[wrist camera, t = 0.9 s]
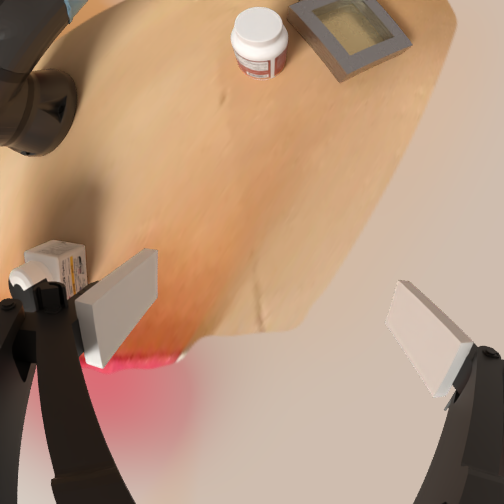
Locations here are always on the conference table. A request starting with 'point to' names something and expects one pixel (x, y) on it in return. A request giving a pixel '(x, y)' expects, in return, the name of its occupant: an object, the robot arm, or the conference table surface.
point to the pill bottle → (260, 43)
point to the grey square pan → (348, 34)
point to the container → (49, 270)
